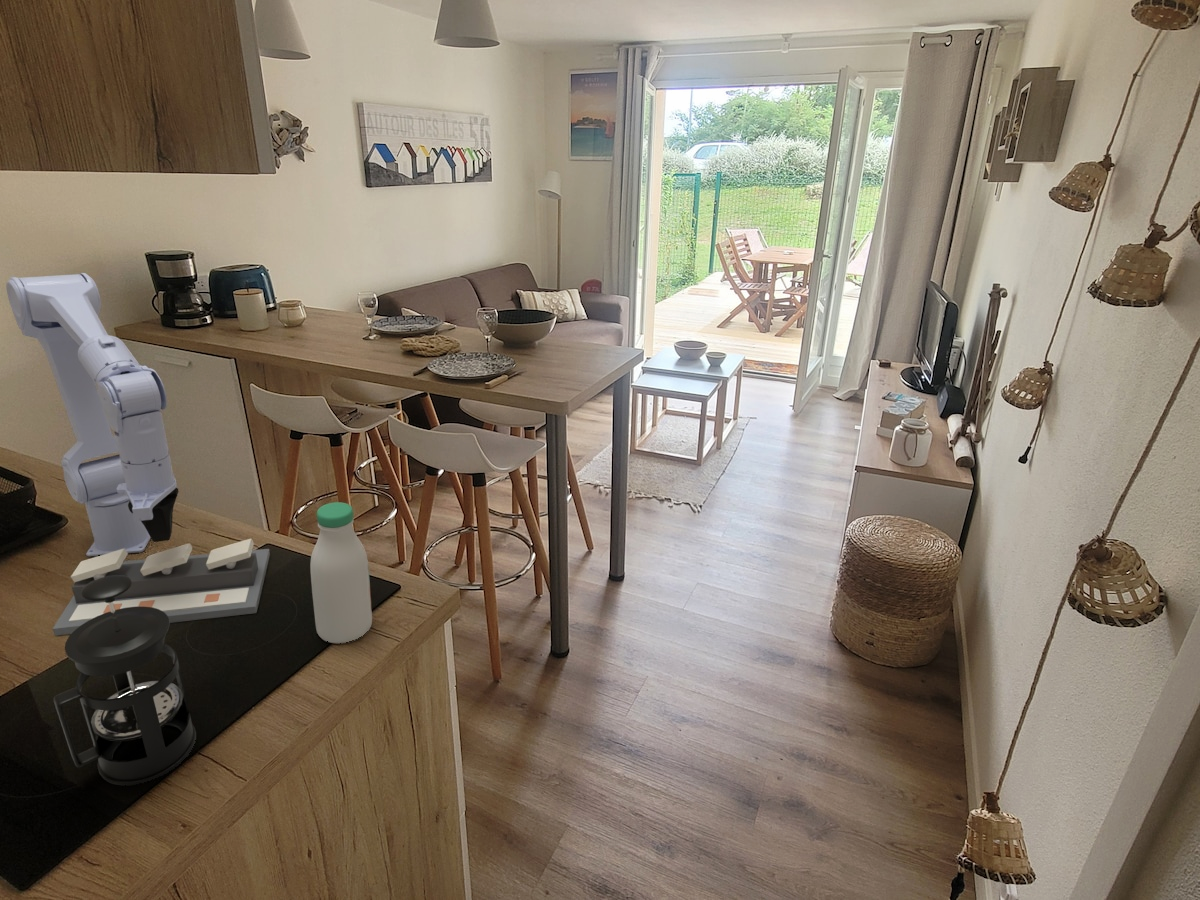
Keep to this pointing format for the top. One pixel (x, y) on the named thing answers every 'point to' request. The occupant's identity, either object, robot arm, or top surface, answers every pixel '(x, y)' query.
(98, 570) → the switch near
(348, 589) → the milk bottle
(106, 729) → the french press
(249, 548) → the switch far
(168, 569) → the switch middle
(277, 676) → the top surface
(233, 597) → the switch panel
